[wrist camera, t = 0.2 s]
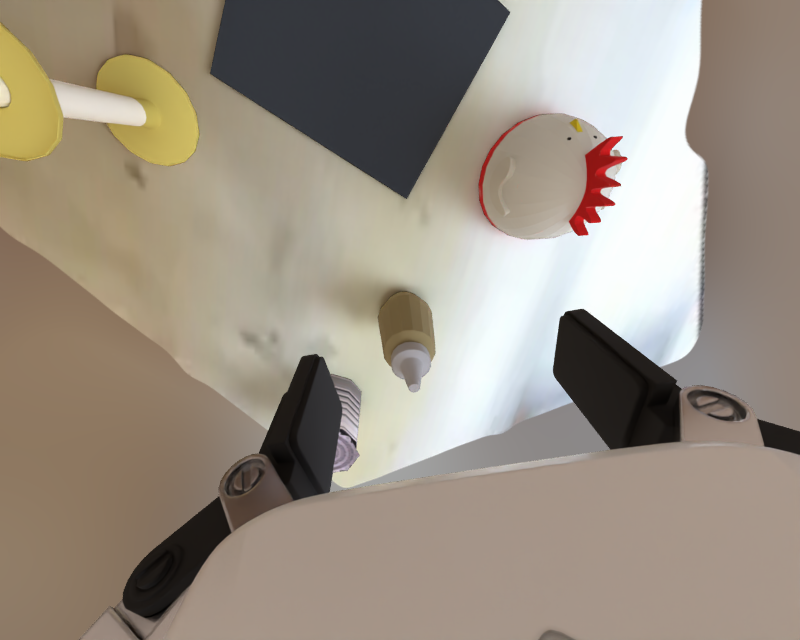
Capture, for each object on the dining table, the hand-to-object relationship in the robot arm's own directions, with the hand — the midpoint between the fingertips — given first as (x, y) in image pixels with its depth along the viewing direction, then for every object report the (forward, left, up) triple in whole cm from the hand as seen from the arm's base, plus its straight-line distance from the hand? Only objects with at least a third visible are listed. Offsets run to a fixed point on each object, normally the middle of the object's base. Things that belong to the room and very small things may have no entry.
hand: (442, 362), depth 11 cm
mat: (-12, -13, -31) cm, 36 cm away
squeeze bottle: (+12, +7, -31) cm, 34 cm away
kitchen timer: (-12, +12, -31) cm, 36 cm away
